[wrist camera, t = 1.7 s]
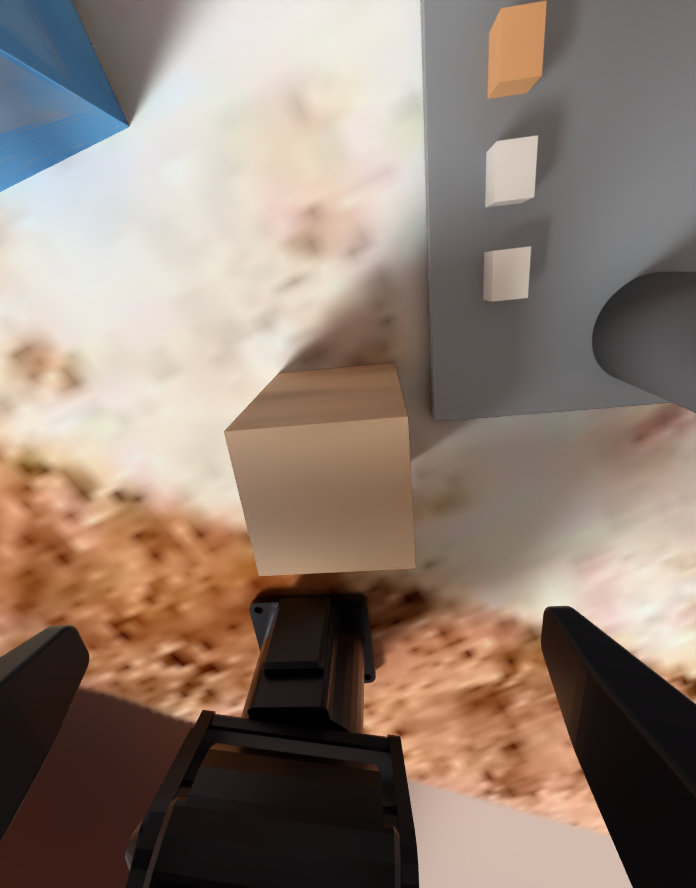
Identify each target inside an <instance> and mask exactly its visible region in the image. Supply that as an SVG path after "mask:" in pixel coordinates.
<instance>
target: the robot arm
mask: <svg viewBox="0 0 696 888" xmlns="http://www.w3.org/2000/svg"><path fill="white" fill-rule="evenodd" d="M356 603H361V604H356ZM258 607H261V608H258ZM249 610H250V614H251V618H252V622H253V626H254V629H255V633H256V637H257V641H258V644H259V648H260V655H259V658H258V662H257V665H256V668H255V672H254V675H253V679H252V682H251V685H250V689H249V692H248V696H247V699H246V703H245V706H244V709H243V713H242V716H241V717H234V716H227V715H219V714H216V712H215V711H208V710H203V711H202V712H201V714H200V716H199V718H198V720H197V722H196V724H195V726H194V728H191V729H190V731H189V733H188V735H187V737H186V739H185V740H184V742H183V744H182V746H181V748H180V750H179V752H178V754H177V756H176V758H175V760H174V761H173V764H172V765H171V767H170V769H169V771H168V773H167V775H166V777H165V779H164V781H163V783H162V784H161V786H160V788H159V790H158V792H157V794H156V796H155V798H154V800H153V802H152V804H151V806H150V808H149V809H148V811H147V813H146V815H145V817H144V819H143V820H142V822H141V823H140V824H139V826H138V827H137V829H136V830H135V832H134V833H133V835H132V836H131V839H130V841H129V843H128V846H127V850H126V854H125V858H126V861H127V864H128V868H129V871H130V872H129V877H128V881H127V885H126V888H419V873H418V856H417V844H416V836H415V829H414V822H413V816H412V809H411V803H410V796H409V790H408V783H407V777H406V770H405V764H404V757H403V751H402V745H401V738H400V736H395V735H387V737H384V736H377V735H369V734H363V710H364V683H371V682H373V681H374V680H375V677H376V671H375V662H374V653H373V644H372V636H371V627H370V618H369V609H368V601H367V598H366V597H365V596H364V595H362V594H335V595H311V596H288V597H265V598H255V599H254V600H253V601H252V602H251V605H250V608H249ZM541 648H542V653H543V656H544V659H545V662H546V665H547V668H548V671H549V675H550V678H551V681H552V684H553V687H554V690H555V693H556V696H557V699H558V703H559V706H560V709H561V712H562V715H563V718H564V721H565V724H566V727H567V730H568V734H569V736H570V739H571V742H572V745H573V748H574V751H575V753H576V756H577V758H578V761H579V763H580V766H581V768H582V770H583V773H584V775H585V777H586V780H587V782H588V784H589V787H590V789H591V791H592V794H593V796H594V798H595V801H596V803H597V805H598V808H599V810H600V812H601V815H602V817H603V819H604V822H605V824H606V826H607V829H608V831H609V833H610V836H611V838H612V840H613V843H614V845H615V847H616V850H617V852H618V854H619V857H620V859H621V861H622V864H623V866H624V868H625V871H626V873H627V875H628V878H629V880H630V882H631V885H632V887H633V888H696V703H694V702H693V701H692V700H690V699H689V698H688V697H687V696H685V695H684V694H683V693H681V692H680V691H679V690H678V689H676V688H675V687H674V686H672V685H671V684H670V683H669V682H667V681H666V680H665V679H663V678H662V677H661V676H660V675H658V674H657V673H656V672H654V671H653V670H652V669H651V668H649V667H648V666H647V665H646V664H644V663H643V662H642V661H640V660H639V659H638V658H637V657H635V656H634V655H633V654H631V653H630V652H629V651H628V650H626V649H625V648H624V647H622V646H621V645H620V644H619V643H617V642H616V641H615V640H613V639H612V638H611V637H610V636H608V635H607V634H606V633H604V632H603V631H602V630H601V629H599V628H598V627H597V626H595V625H594V624H593V623H592V622H590V621H589V620H588V619H586V618H585V617H584V616H583V615H581V614H580V613H579V612H577V611H576V610H575V609H573V608H572V607H569V606H550V607H547V608H546V609H545V610H544V615H543V624H542V633H541ZM88 663H89V653H88V650H87V648H86V646H85V644H84V642H83V640H82V638H81V636H80V634H79V632H78V630H77V629H76V628H75V627H74V626H72V625H55V626H51V627H48V628H46V629H45V630H43V631H41V632H40V633H38V634H37V635H35V636H34V637H32V638H30V639H29V640H27V641H26V642H24V643H22V644H21V645H19V646H18V647H16V648H15V649H13V650H11V651H10V652H8V653H7V654H5V655H3V656H2V657H0V842H1V840H2V838H3V836H4V834H5V833H6V831H7V829H8V827H9V825H10V823H11V821H12V820H13V818H14V816H15V814H16V812H17V811H18V809H19V807H20V805H21V803H22V801H23V799H24V798H25V796H26V794H27V792H28V790H29V789H30V787H31V785H32V783H33V781H34V779H35V777H36V776H37V774H38V772H39V770H40V768H41V766H42V765H43V763H44V761H45V759H46V757H47V755H48V753H49V751H50V749H51V747H52V744H53V742H54V740H55V738H56V736H57V734H58V732H59V729H60V727H61V725H62V723H63V721H64V718H65V716H66V714H67V712H68V709H69V707H70V705H71V703H72V700H73V698H74V696H75V694H76V692H77V689H78V687H79V685H80V683H81V680H82V678H83V676H84V674H85V672H86V669H87V667H88Z"/></svg>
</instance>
